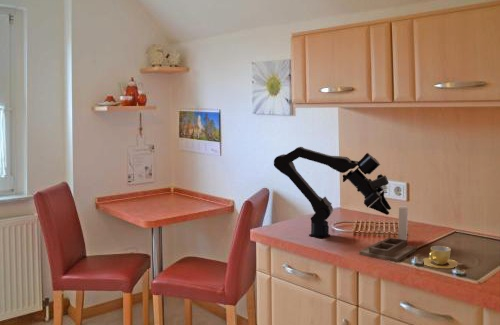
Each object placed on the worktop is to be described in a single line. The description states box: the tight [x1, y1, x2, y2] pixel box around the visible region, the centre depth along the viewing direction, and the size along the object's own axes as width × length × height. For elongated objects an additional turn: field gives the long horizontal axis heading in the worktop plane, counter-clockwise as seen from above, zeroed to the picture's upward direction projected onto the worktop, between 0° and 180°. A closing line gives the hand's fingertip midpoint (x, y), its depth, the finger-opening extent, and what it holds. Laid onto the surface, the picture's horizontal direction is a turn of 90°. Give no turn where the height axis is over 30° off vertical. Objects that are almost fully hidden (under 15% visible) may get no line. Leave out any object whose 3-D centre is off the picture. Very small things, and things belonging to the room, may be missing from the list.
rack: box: [358, 237, 418, 263], centre depth 185 cm, size 14×18×3 cm
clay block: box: [397, 205, 409, 241], centre depth 197 cm, size 3×5×14 cm, turn 161°
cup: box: [422, 245, 460, 269], centre depth 173 cm, size 12×12×5 cm
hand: (389, 211), depth 198 cm, fingers open, 9 cm apart
